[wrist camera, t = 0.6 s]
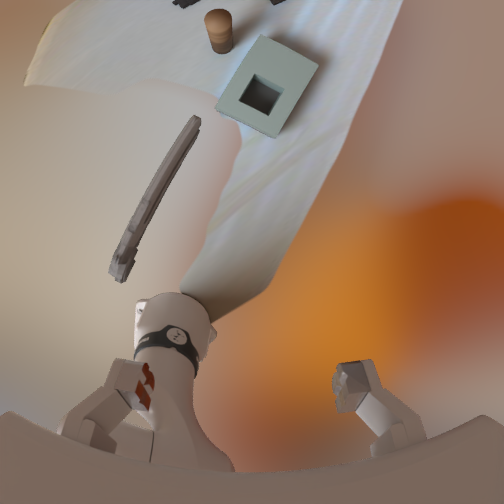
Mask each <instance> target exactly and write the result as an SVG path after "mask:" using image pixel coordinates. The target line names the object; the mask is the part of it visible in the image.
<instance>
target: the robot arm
mask: <svg viewBox="0 0 504 504" xmlns="http://www.w3.org/2000/svg"><path fill="white" fill-rule="evenodd" d="M140 309H142V310H140ZM216 336H217V332H216V330H215V329H214V328H213V326H212V325H211V323H210V320H209V316H208V313H207V312H206V310H205V309H204V307H203V306H202V305H201V304H200V303H199V302H198V301H196V300H195V299H193V298H191V297H189V296H187V295H184V294H180V293H162V294H159V295H157V296H155V297H153V298H151V299H141V300H139V301H137V304H136V313H135V336H134V347H135V353H134V361H131V360H126V359H119V358H116V359H115V360H114V361H113V364H112V366H111V369H110V371H109V374H108V377H107V379H106V382H105V385H104V387H102V386H101V387H100V388H98V389H97V390H96V391H95V392H93V393H92V394H91V395H90V396H88V397H87V398H86V399H85V400H83V401H82V402H81V403H80V404H78V405H77V406H76V407H74V408H73V409H72V410H71V411H69V412H68V413H67V414H66V415H65V416H64V417H63V418H62V419H61V421H60V423H59V425H58V427H57V431H56V433H55V432H53V431H50V430H48V429H46V428H44V427H42V426H40V425H38V424H36V423H34V422H32V421H30V420H28V419H26V418H24V417H22V416H21V415H19V414H17V413H15V412H12V411H8V412H6V413H4V414H3V415H2V416H0V504H504V426H503V425H501V424H500V423H498V422H497V421H495V420H493V419H492V418H490V417H488V416H486V415H480V416H478V417H476V418H474V419H472V420H470V421H468V422H466V423H464V424H462V425H460V426H458V427H456V428H454V429H452V430H449V431H447V432H445V433H443V434H441V435H438V436H436V437H433V438H430V439H428V440H427V437H426V434H425V431H424V427H423V424H422V421H421V419H420V416H419V415H418V414H416V413H415V412H414V411H413V410H411V409H410V408H409V407H408V406H407V405H405V404H404V403H403V402H402V401H400V400H399V399H398V398H397V397H395V396H394V395H393V394H392V393H390V392H389V391H388V390H387V389H383V388H382V385H381V382H380V380H379V377H378V374H377V371H376V368H375V365H374V363H373V361H372V360H371V359H368V360H361V361H360V360H359V361H353V362H345V363H339V364H338V365H337V367H336V369H337V372H336V373H334V375H333V378H332V388H333V393H334V394H335V395H337V398H336V400H335V403H336V407H337V412H338V413H345V412H352V411H356V413H357V414H358V415H359V416H360V417H361V419H362V420H363V421H364V422H365V423H366V424H367V425H368V426H369V427H370V428H371V429H372V430H373V432H374V433H375V434H376V435H377V436H378V437H379V438H378V439H377V440H376V441H375V442H374V443H372V444H371V446H370V449H371V454H372V458H368V459H363V460H359V461H355V462H350V463H345V464H340V465H334V466H328V467H322V468H314V469H305V470H296V471H284V472H259V473H243V472H239V473H238V472H235V469H234V466H233V464H232V462H231V460H230V459H229V457H228V456H227V455H226V454H225V453H224V452H223V451H221V450H220V449H219V448H218V447H216V446H215V445H214V444H213V443H212V442H211V441H210V440H209V438H208V437H207V436H206V435H205V433H204V432H203V430H202V428H201V427H200V425H199V423H198V420H197V418H196V415H195V412H194V408H193V386H194V379H195V377H196V375H197V371H198V369H199V362H202V361H203V358H204V357H206V355H207V351H208V346H209V344H210V343H211V342H212V341H213V340H214V339H215V338H216ZM132 409H134V410H136V411H137V412H138V413H139V414H140V415H141V416H142V417H143V418H145V419H146V420H147V421H148V423H149V424H150V425H151V427H152V429H153V431H152V430H149V429H146V428H143V427H140V426H137V425H134V424H131V423H128V422H126V421H123V419H124V418H125V417H126V416H127V415H128V414H129V413H130V411H131V410H132Z"/></svg>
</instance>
